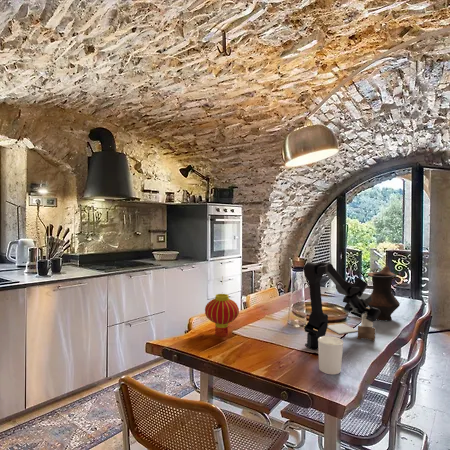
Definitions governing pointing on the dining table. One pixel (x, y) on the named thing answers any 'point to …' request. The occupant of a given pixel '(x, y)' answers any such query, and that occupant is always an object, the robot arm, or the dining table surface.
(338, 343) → the white cylinder
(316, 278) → the robot arm
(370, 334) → the brown wooden box
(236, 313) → the lantern
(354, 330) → the board
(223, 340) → the dining table surface
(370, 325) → the bottle
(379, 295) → the jug
